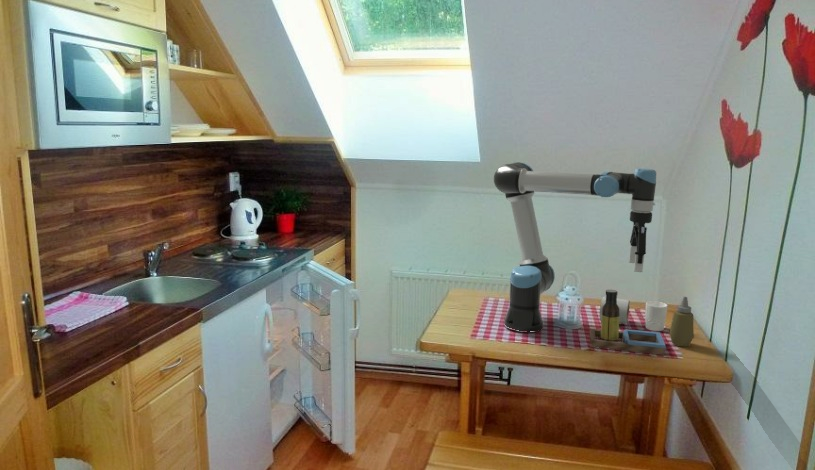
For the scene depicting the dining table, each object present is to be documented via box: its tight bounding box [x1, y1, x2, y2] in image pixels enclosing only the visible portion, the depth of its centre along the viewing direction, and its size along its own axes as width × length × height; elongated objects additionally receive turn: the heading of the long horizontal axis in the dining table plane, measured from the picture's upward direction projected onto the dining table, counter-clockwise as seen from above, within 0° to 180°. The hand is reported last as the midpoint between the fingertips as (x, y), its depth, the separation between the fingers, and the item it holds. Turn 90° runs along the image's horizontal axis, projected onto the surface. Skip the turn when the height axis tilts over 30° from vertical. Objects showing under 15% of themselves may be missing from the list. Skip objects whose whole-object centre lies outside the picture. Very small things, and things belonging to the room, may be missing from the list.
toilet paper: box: [599, 296, 631, 326], centre depth 237 cm, size 10×10×10 cm
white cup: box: [644, 300, 668, 332], centre depth 231 cm, size 8×8×10 cm
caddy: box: [589, 328, 666, 356], centre depth 214 cm, size 25×13×4 cm, turn 75°
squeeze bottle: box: [669, 296, 695, 348], centre depth 213 cm, size 8×8×18 cm
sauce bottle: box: [600, 289, 620, 342], centre depth 214 cm, size 6×6×20 cm
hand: (635, 267), depth 219 cm, fingers open, 13 cm apart
